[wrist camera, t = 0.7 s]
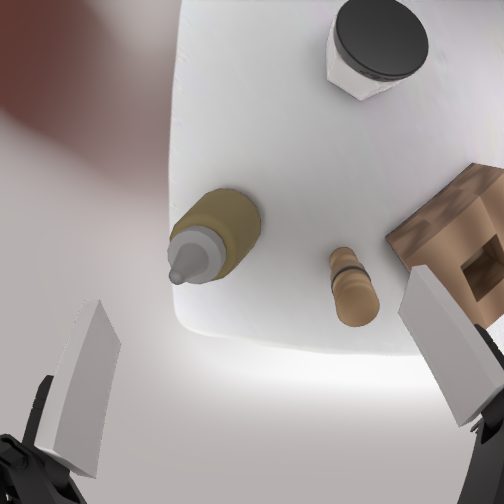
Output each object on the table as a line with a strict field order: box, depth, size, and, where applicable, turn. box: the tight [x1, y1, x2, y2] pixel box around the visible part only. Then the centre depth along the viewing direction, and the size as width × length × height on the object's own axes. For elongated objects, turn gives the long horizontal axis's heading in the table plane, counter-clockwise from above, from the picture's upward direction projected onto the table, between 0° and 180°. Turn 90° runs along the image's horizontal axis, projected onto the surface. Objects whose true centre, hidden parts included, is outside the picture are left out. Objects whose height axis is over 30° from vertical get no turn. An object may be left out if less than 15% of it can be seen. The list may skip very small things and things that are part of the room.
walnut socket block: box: [385, 163, 504, 329], centre depth 30 cm, size 16×16×8 cm
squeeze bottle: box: [168, 189, 261, 285], centre depth 29 cm, size 8×8×18 cm
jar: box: [326, 0, 429, 101], centre depth 23 cm, size 9×8×12 cm
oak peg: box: [330, 247, 379, 327], centre depth 31 cm, size 4×4×12 cm
